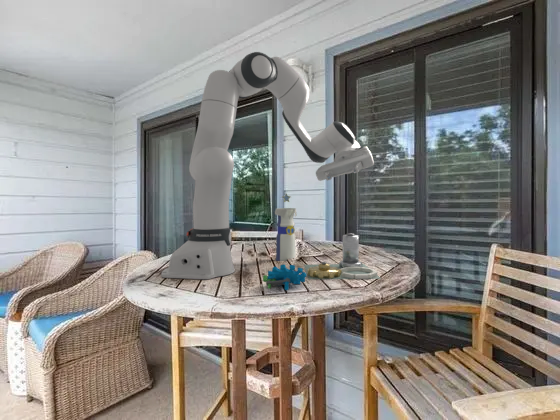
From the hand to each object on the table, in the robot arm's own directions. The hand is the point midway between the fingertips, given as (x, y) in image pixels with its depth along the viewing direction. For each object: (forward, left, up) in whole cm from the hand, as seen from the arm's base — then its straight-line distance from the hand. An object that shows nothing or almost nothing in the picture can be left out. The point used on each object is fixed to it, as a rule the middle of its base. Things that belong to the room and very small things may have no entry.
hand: (341, 174), depth 109 cm
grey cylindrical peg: (+2, -5, -30) cm, 30 cm away
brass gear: (-8, -15, -30) cm, 34 cm away
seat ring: (+2, -15, -30) cm, 33 cm away
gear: (-19, -27, -31) cm, 45 cm away
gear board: (-3, -10, -31) cm, 33 cm away
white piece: (-18, +14, -31) cm, 39 cm away
